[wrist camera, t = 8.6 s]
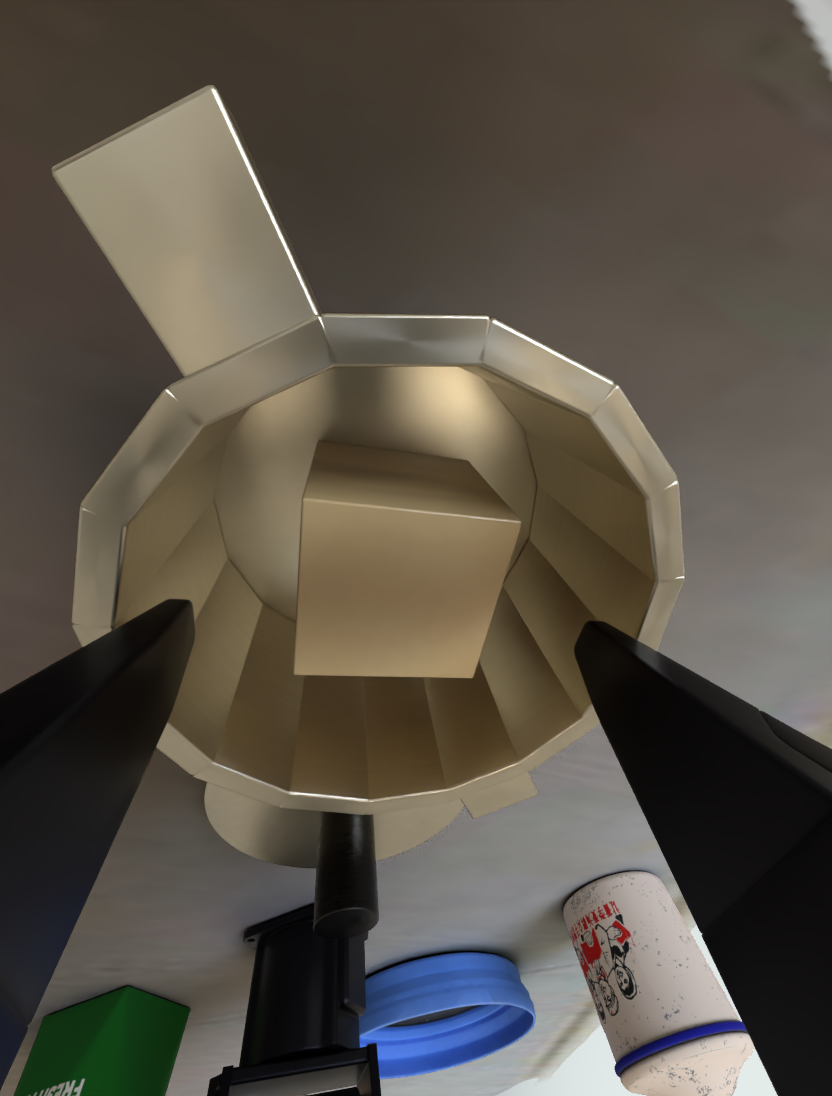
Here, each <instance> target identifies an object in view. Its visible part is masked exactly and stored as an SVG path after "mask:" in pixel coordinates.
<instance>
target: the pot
mask: <svg viewBox="0 0 832 1096" xmlns="http://www.w3.org/2000/svg"><path fill="white" fill-rule="evenodd" d="M51 173H52V176H53V178H54V179H55V181H56V182H57V184H58V185H59V187H60V188H61V190H62V191H63V193H64V195H65V196H66V198H67V199H68V201H69V202H70V204H71V205H72V207H73V208H74V210H75V211H76V213H77V214H78V216H79V217H80V219H81V220H82V222H83V224H84V225H85V227H86V228H87V230H88V231H89V233H90V234H91V236H92V237H93V239H94V240H95V242H96V243H97V245H98V246H99V248H100V250H101V251H102V253H103V254H104V256H105V257H106V259H107V260H108V262H109V263H110V265H111V266H112V268H113V269H114V271H115V272H116V274H117V275H118V277H119V279H120V280H121V282H122V283H123V285H124V286H125V288H126V289H127V291H128V292H129V294H130V295H131V297H132V298H133V300H134V301H135V303H136V305H137V306H138V308H139V309H140V311H141V312H142V314H143V315H144V317H145V318H146V320H147V321H148V323H149V324H150V326H151V327H152V329H153V330H154V332H155V334H156V335H157V337H158V338H159V340H160V341H161V343H162V344H163V346H164V347H165V349H166V350H167V352H168V353H169V355H170V356H171V358H172V360H173V361H174V363H175V364H176V366H177V367H178V369H179V370H180V372H181V373H182V375H183V376H184V378H182V379H180V380H178V381H176V382H173V383H171V384H170V385H169V386H168V387H167V388H165V389H163V390H162V392H161V393H160V394H159V396H158V397H157V399H156V400H155V401H154V403H153V404H152V405H151V407H150V408H149V410H148V411H147V412H146V414H145V415H144V416H143V418H142V419H141V421H140V422H139V423H138V425H137V426H136V427H135V429H134V430H133V432H132V433H131V434H130V436H129V437H128V438H127V440H126V441H125V443H124V444H123V445H122V447H121V448H120V449H119V451H118V452H117V454H116V455H115V456H114V458H113V459H112V460H111V462H110V463H109V465H108V466H107V467H106V469H105V470H104V471H103V473H102V474H101V476H100V477H99V478H98V480H97V481H96V482H95V484H94V485H93V487H92V488H91V489H90V491H89V492H88V493H87V495H86V496H85V498H84V499H83V500H82V502H81V507H80V510H79V523H78V537H77V551H76V564H75V578H74V592H73V606H72V619H71V622H72V623H73V624H72V628H73V630H74V632H75V634H76V636H77V638H78V640H79V642H80V644H81V646H82V647H84V646H86V645H87V644H89V643H91V642H93V641H94V640H96V639H98V638H100V637H102V636H103V635H105V634H107V633H109V632H110V631H112V630H114V629H116V628H117V627H119V626H121V625H123V624H124V623H126V622H128V621H130V620H131V619H133V618H135V617H137V616H139V615H140V614H142V613H144V612H146V611H147V610H149V609H151V608H153V607H154V606H156V605H158V604H160V603H161V602H163V601H165V600H167V599H188V600H190V601H191V602H192V604H193V612H194V622H195V640H194V644H193V648H192V651H191V654H190V657H189V660H188V663H187V667H186V670H185V673H184V676H183V679H182V682H181V685H180V689H179V692H178V695H177V698H176V701H175V704H174V707H173V710H172V712H171V715H170V717H169V720H168V722H167V724H166V726H165V729H164V731H163V733H162V735H161V737H160V740H159V742H158V744H157V746H156V748H158V749H159V750H160V751H161V752H163V753H164V754H165V755H166V756H168V757H169V758H170V759H171V760H173V761H174V762H175V763H176V764H178V765H179V766H180V767H181V768H183V769H184V770H185V771H186V772H188V773H189V774H190V775H193V777H195V778H197V779H200V780H203V781H206V782H208V783H211V784H214V785H217V786H219V787H222V788H225V789H228V790H230V791H233V792H236V793H239V794H241V795H244V796H247V797H250V798H252V799H255V800H258V801H261V802H264V803H266V804H269V805H272V806H275V807H280V808H288V809H300V810H312V811H324V812H335V813H347V814H359V815H365V814H366V815H371V814H378V813H385V812H392V811H398V810H405V809H412V808H419V807H426V806H432V805H439V804H446V803H450V801H451V802H452V801H455V800H458V799H460V800H461V801H462V803H463V804H464V806H465V807H466V809H467V810H468V812H469V813H470V815H471V816H472V818H473V819H475V818H478V817H481V816H483V815H486V814H489V813H491V812H494V811H496V810H499V809H502V808H504V807H507V806H510V805H512V804H515V803H517V802H520V801H523V800H525V799H528V798H531V797H533V796H536V795H537V794H538V791H537V789H536V786H535V784H534V781H533V779H532V776H531V774H530V771H532V770H533V769H535V768H536V767H538V766H539V765H541V764H542V763H544V762H545V761H547V760H548V759H549V758H551V757H552V756H554V755H555V754H557V753H558V752H560V751H561V750H563V749H564V748H565V747H567V746H568V745H570V744H571V743H573V742H574V741H576V740H577V739H579V738H580V737H582V736H583V735H584V734H586V733H587V732H589V731H590V730H592V729H593V728H595V727H596V726H597V724H598V723H600V721H599V719H598V716H597V714H596V712H595V710H594V707H593V704H592V702H591V699H590V696H589V694H588V691H587V688H586V685H585V683H584V680H583V677H582V675H581V672H580V669H579V666H578V664H577V661H576V658H575V655H574V646H575V643H576V641H577V639H578V637H579V634H580V632H581V630H582V628H583V626H584V624H585V623H586V622H587V621H590V620H591V621H604V622H606V623H608V624H610V625H611V626H613V627H615V628H617V629H618V630H620V631H622V632H624V633H626V634H627V635H629V636H631V637H633V638H634V639H636V640H638V641H640V642H641V643H643V644H645V645H647V646H648V647H650V648H652V649H654V650H655V651H657V650H658V647H659V644H660V642H661V639H662V637H663V634H664V631H665V629H666V626H667V623H668V621H669V618H670V616H671V613H672V610H673V608H674V605H675V603H676V600H677V597H678V595H679V592H680V589H681V587H682V584H683V582H684V579H685V577H684V574H685V572H684V556H683V541H682V525H681V509H680V493H679V483H678V481H677V476H676V474H675V472H674V471H673V469H672V468H671V466H670V465H669V463H668V462H667V460H666V458H665V457H664V455H663V454H662V452H661V451H660V449H659V448H658V446H657V444H656V443H655V441H654V440H653V438H652V437H651V435H650V434H649V432H648V430H647V429H646V427H645V426H644V424H643V423H642V421H641V420H640V418H639V416H638V415H637V413H636V412H635V410H634V409H633V407H632V406H631V404H630V402H629V401H628V399H627V398H626V396H625V395H624V393H623V392H622V390H621V388H620V387H619V385H617V384H615V383H614V382H613V380H612V379H610V378H608V377H606V376H604V375H602V374H600V373H599V372H597V371H595V370H593V369H591V368H589V367H587V366H585V365H583V364H582V363H580V362H578V361H576V360H574V359H572V358H570V357H568V356H566V355H564V354H563V353H561V352H559V351H557V350H555V349H553V348H551V347H549V346H547V345H546V344H544V343H542V342H540V341H538V340H536V339H534V338H532V337H530V336H528V335H527V334H525V333H523V332H521V331H519V330H517V329H515V328H513V327H511V326H510V325H508V324H506V323H504V322H502V321H500V320H498V319H496V318H489V316H487V315H462V314H385V313H322V311H321V309H320V306H319V304H318V302H317V300H316V298H315V295H314V293H313V291H312V289H311V287H310V284H309V282H308V280H307V278H306V275H305V273H304V271H303V269H302V267H301V264H300V262H299V260H298V258H297V256H296V253H295V251H294V249H293V247H292V244H291V242H290V240H289V238H288V236H287V233H286V231H285V229H284V227H283V225H282V222H281V220H280V218H279V216H278V214H277V211H276V209H275V207H274V205H273V202H272V200H271V198H270V196H269V194H268V191H267V189H266V187H265V185H264V183H263V180H262V178H261V176H260V174H259V171H258V169H257V167H256V165H255V163H254V160H253V158H252V156H251V154H250V152H249V149H248V147H247V145H246V143H245V140H244V138H243V136H242V134H241V132H240V129H239V127H238V125H237V123H236V121H235V119H234V117H233V115H232V113H231V111H230V110H229V108H228V106H227V104H226V102H225V101H224V99H223V97H222V95H221V93H220V92H219V91H218V89H217V88H216V87H215V86H214V85H208V86H206V87H204V88H202V89H200V90H198V91H196V92H194V93H192V94H190V95H188V96H187V97H185V98H183V99H181V100H179V101H177V102H175V103H173V104H171V105H169V106H167V107H166V108H164V109H162V110H160V111H158V112H156V113H154V114H152V115H150V116H148V117H146V118H145V119H143V120H141V121H139V122H137V123H135V124H133V125H131V126H129V127H127V128H125V129H124V130H122V131H120V132H118V133H116V134H114V135H112V136H110V137H108V138H106V139H104V140H103V141H101V142H99V143H97V144H95V145H93V146H91V147H89V148H87V149H85V150H83V151H82V152H80V153H78V154H76V155H74V156H72V157H70V158H68V159H66V160H64V161H62V162H61V163H59V164H57V165H55V166H53V167H52V169H51ZM319 440H320V441H327V442H335V443H342V444H349V445H357V446H364V447H372V448H379V449H387V450H394V451H401V452H409V453H416V454H424V455H431V456H439V457H446V458H453V459H461V460H467V461H469V462H470V463H471V465H472V466H473V467H474V468H475V469H476V470H477V471H478V472H479V474H480V475H481V476H482V477H483V478H484V479H485V480H486V481H487V483H488V484H489V485H490V486H491V487H492V488H493V489H494V490H495V492H496V493H497V494H498V495H499V496H500V497H501V498H502V499H503V501H504V502H505V503H506V504H507V505H508V506H509V507H510V508H511V510H512V511H513V512H514V513H515V514H516V515H517V516H518V517H519V519H520V520H521V521H522V525H521V528H520V531H519V534H518V537H517V540H516V544H515V547H514V550H513V553H512V556H511V559H510V563H509V566H508V569H507V572H506V575H505V578H504V581H503V585H502V588H501V591H500V594H499V597H498V600H497V604H496V607H495V610H494V613H493V616H492V619H491V622H490V626H489V629H488V632H487V635H486V638H485V641H484V645H483V648H482V651H481V654H480V657H479V660H478V663H477V667H476V670H475V673H474V676H473V678H433V677H379V676H325V675H294V673H293V670H294V649H295V628H296V607H297V586H298V565H299V544H300V524H301V503H302V497H303V493H304V489H305V486H306V482H307V478H308V474H309V471H310V467H311V463H312V460H313V456H314V452H315V448H316V445H317V442H318V441H319Z"/></svg>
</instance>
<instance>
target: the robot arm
mask: <svg viewBox="0 0 832 1096" xmlns="http://www.w3.org/2000/svg"><path fill="white" fill-rule="evenodd" d="M194 640H195V622H194V612H193V604H192V602H191V601H190V600H188V599H167V600H165V601H163V602H161V603H160V604H158V605H156V606H154V607H153V608H151V609H149V610H147V611H146V612H144V613H142V614H140V615H139V616H137V617H135V618H133V619H131V620H130V621H128V622H126V623H124V624H123V625H121V626H119V627H117V628H116V629H114V630H112V631H110V632H109V633H107V634H105V635H103V636H102V637H100V638H98V639H96V640H94V641H93V642H91V643H89V644H87V645H86V646H84V647H82V648H80V649H79V650H77V651H75V652H73V653H72V654H70V655H68V656H66V657H64V658H63V659H61V660H59V661H57V662H56V663H54V664H52V665H50V666H49V667H47V668H45V669H43V670H42V671H40V672H38V673H36V674H35V675H33V676H31V677H29V678H27V679H26V680H24V681H22V682H20V683H19V684H17V685H15V686H13V687H12V688H10V689H8V690H6V691H5V692H3V693H1V694H0V1090H1V1088H2V1085H3V1083H4V1081H5V1079H6V1077H7V1074H8V1072H9V1070H10V1068H11V1066H12V1063H13V1061H14V1059H15V1057H16V1055H17V1052H18V1050H19V1048H20V1046H21V1044H22V1041H23V1039H24V1037H25V1035H26V1033H27V1030H28V1026H27V1025H28V1024H30V1022H31V1021H32V1019H33V1016H34V1014H35V1012H36V1010H37V1008H38V1005H39V1003H40V1001H41V999H42V997H43V994H44V992H45V990H46V988H47V986H48V983H49V981H50V979H51V977H52V975H53V972H54V970H55V968H56V966H57V964H58V961H59V959H60V957H61V955H62V953H63V950H64V948H65V946H66V944H67V942H68V940H69V937H70V935H71V933H72V931H73V929H74V926H75V924H76V922H77V920H78V918H79V915H80V913H81V911H82V909H83V907H84V904H85V902H86V900H87V898H88V896H89V893H90V891H91V889H92V887H93V885H94V882H95V880H96V878H97V876H98V874H99V871H100V869H101V867H102V865H103V863H104V860H105V858H106V856H107V854H108V852H109V849H110V847H111V845H112V843H113V841H114V838H115V836H116V834H117V832H118V830H119V827H120V825H121V823H122V821H123V819H124V816H125V814H126V812H127V810H128V808H129V805H130V803H131V801H132V799H133V797H134V794H135V792H136V790H137V788H138V786H139V784H140V781H141V779H142V777H143V775H144V773H145V770H146V768H147V766H148V764H149V762H150V759H151V757H152V755H153V753H154V751H155V748H156V746H157V744H158V742H159V740H160V737H161V735H162V733H163V731H164V729H165V726H166V724H167V722H168V720H169V717H170V715H171V712H172V710H173V707H174V704H175V701H176V698H177V695H178V692H179V689H180V685H181V682H182V679H183V676H184V673H185V670H186V667H187V663H188V660H189V657H190V654H191V651H192V648H193V644H194ZM574 655H575V658H576V661H577V664H578V666H579V669H580V672H581V675H582V677H583V680H584V683H585V685H586V688H587V691H588V694H589V696H590V699H591V702H592V704H593V707H594V710H595V712H596V714H597V716H598V719H599V721H600V723H601V725H602V727H603V729H604V731H605V734H606V736H607V738H608V740H609V742H610V744H611V746H612V748H613V750H614V752H615V754H616V757H617V759H618V761H619V763H620V765H621V767H622V769H623V771H624V773H625V775H626V778H627V780H628V782H629V784H630V786H631V788H632V790H633V792H634V794H635V796H636V798H637V801H638V803H639V805H640V807H641V809H642V811H643V813H644V815H645V817H646V819H647V822H648V824H649V826H650V828H651V830H652V832H653V834H654V836H655V838H656V840H657V843H658V845H659V847H660V849H661V851H662V853H663V855H664V857H665V859H666V861H667V863H668V866H669V868H670V870H671V872H672V874H673V876H674V878H675V880H676V882H677V884H678V887H679V889H680V891H681V893H682V895H683V897H684V899H685V901H686V903H687V905H688V907H689V910H690V912H691V914H692V916H693V918H694V920H695V922H696V924H697V926H698V928H699V931H700V932H701V933H703V934H702V937H703V940H704V942H705V944H706V945H707V948H708V950H709V952H710V954H711V956H712V959H713V961H714V963H715V964H716V967H717V969H718V971H719V973H720V975H721V977H722V979H723V981H724V984H725V986H726V988H727V990H728V992H729V994H730V996H731V998H732V1001H733V1003H734V1005H735V1007H736V1009H737V1011H738V1013H739V1015H740V1017H741V1019H742V1022H743V1024H744V1026H745V1028H746V1030H747V1032H748V1034H749V1036H750V1038H751V1040H752V1043H753V1045H754V1047H755V1049H756V1051H757V1053H758V1055H759V1057H760V1059H761V1061H762V1063H763V1066H764V1068H765V1070H766V1072H767V1074H768V1076H769V1078H770V1080H771V1082H772V1084H773V1087H774V1088H775V1091H776V1093H777V1095H778V1096H832V749H830V748H828V747H826V746H825V745H823V744H821V743H819V742H817V741H815V740H813V739H811V738H810V737H808V736H806V735H804V734H802V733H801V732H799V731H797V730H795V729H793V728H792V727H790V726H788V725H786V724H784V723H783V722H781V721H779V720H777V719H775V718H774V717H772V716H770V715H768V714H767V713H765V712H763V711H759V710H758V708H756V707H754V706H752V705H751V704H749V703H747V702H745V701H744V700H742V699H740V698H738V697H737V696H735V695H733V694H731V693H730V692H728V691H726V690H724V689H722V688H721V687H719V686H717V685H715V684H714V683H712V682H710V681H708V680H707V679H705V678H703V677H701V676H700V675H698V674H696V673H694V672H692V671H691V670H689V669H687V668H685V667H684V666H682V665H680V664H678V663H677V662H675V661H673V660H671V659H670V658H668V657H666V656H664V655H663V654H661V653H659V652H657V651H655V650H654V649H652V648H650V647H648V646H647V645H645V644H643V643H641V642H640V641H638V640H636V639H634V638H633V637H631V636H629V635H627V634H626V633H624V632H622V631H620V630H618V629H617V628H615V627H613V626H611V625H610V624H608V623H606V622H604V621H591V620H590V621H587V622H586V623H585V624H584V626H583V628H582V630H581V632H580V634H579V637H578V639H577V641H576V643H575V646H574ZM313 922H314V906H311V907H308V908H306V909H303V910H300V911H298V912H295V913H292V914H290V915H287V916H284V917H282V918H279V919H276V920H274V921H271V922H268V923H266V924H263V925H260V926H258V927H255V928H252V929H250V930H247V931H246V932H245V933H244V939H243V942H244V943H246V944H248V945H249V946H251V947H253V948H255V949H256V955H255V962H254V969H253V975H252V982H251V989H250V996H249V1003H248V1009H247V1016H246V1023H245V1030H244V1037H243V1043H242V1050H241V1057H240V1064H239V1067H235V1068H233V1065H232V1066H226V1067H223V1071H222V1074H220V1075H218V1076H216V1077H214V1078H211V1079H210V1083H209V1089H208V1094H207V1096H298V1095H304V1094H309V1093H315V1092H320V1091H326V1090H332V1089H337V1088H343V1087H348V1086H354V1085H357V1087H352V1088H347V1089H341V1090H336V1091H330V1092H325V1093H319V1094H314V1095H308V1096H381V1088H380V1077H379V1065H378V1053H377V1043H370V1044H367V1046H366V1047H360V1030H359V1016H361V1015H364V1012H365V1010H366V987H365V949H364V941H365V940H367V939H368V931H367V932H365V933H363V934H361V935H358V936H354V937H350V938H344V939H329V938H324V937H321V936H319V935H317V934H316V933H315V932H314V929H313Z"/></svg>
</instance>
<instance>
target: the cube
mask: <svg viewBox="0 0 832 1096" xmlns="http://www.w3.org/2000/svg"><path fill="white" fill-rule="evenodd" d="M521 525H522V521H521V520H520V519H519V517H518V516H517V515H516V514H515V513H514V512H513V511H512V510H511V508H510V507H509V506H508V505H507V504H506V503H505V502H504V501H503V499H502V498H501V497H500V496H499V495H498V494H497V493H496V492H495V490H494V489H493V488H492V487H491V486H490V485H489V484H488V483H487V481H486V480H485V479H484V478H483V477H482V476H481V475H480V474H479V472H478V471H477V470H476V469H475V468H474V467H473V466H472V465H471V463H470V462H469V461H467V460H461V459H453V458H446V457H439V456H431V455H424V454H416V453H409V452H401V451H394V450H387V449H379V448H372V447H364V446H357V445H349V444H342V443H335V442H327V441H320V440H319V441H318V442H317V445H316V448H315V452H314V456H313V460H312V463H311V467H310V471H309V474H308V478H307V482H306V486H305V489H304V493H303V497H302V503H301V524H300V544H299V565H298V586H297V607H296V628H295V649H294V670H293V673H294V675H325V676H379V677H433V678H473V676H474V673H475V670H476V667H477V663H478V660H479V657H480V654H481V651H482V648H483V645H484V641H485V638H486V635H487V632H488V629H489V626H490V622H491V619H492V616H493V613H494V610H495V607H496V604H497V600H498V597H499V594H500V591H501V588H502V585H503V581H504V578H505V575H506V572H507V569H508V566H509V563H510V559H511V556H512V553H513V550H514V547H515V544H516V540H517V537H518V534H519V531H520V528H521Z"/></svg>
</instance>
